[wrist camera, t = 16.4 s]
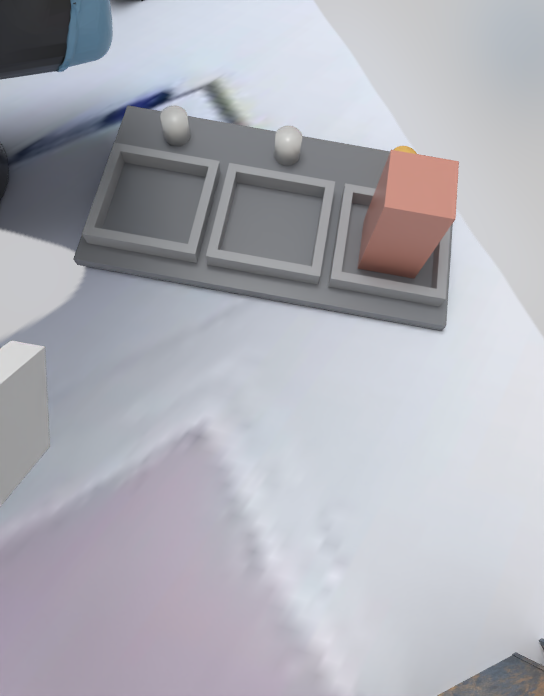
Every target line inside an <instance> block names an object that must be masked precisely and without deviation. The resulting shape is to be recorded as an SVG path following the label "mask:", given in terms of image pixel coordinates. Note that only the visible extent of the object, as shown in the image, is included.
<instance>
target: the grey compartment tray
mask: <svg viewBox="0 0 544 696" xmlns="http://www.w3.org/2000/svg"><path fill="white" fill-rule="evenodd" d="M394 150H396V151H402V152H407V153H413V154H417V153H416V152H415V151H414V150H413V149H412V148H410V147H407V146H399V147H397V148H395V149H394ZM389 154H390V152H389V151H383V150H378V149H372V148H366V147H361V146H355V145H349V144H344V143H338V142H332V141H327V140H321V139H315V138H309V137H304V136H302V134H301V132H300V131H299V130H298V129H297V128H295V127H293V126H284V127H281V128H280V129H278V130H277V132H275V131H270V130H264V129H258V128H253V127H247V126H241V125H236V124H230V123H224V122H218V121H213V120H207V119H201V118H196V117H190V116H187V113H186V111H185V110H184V109H183V108H181V107H179V106H169V107H167V108H165V109H164V110H163V111H156V110H150V109H145V108H139V107H133V106H127V109H126V111H125V114H124V117H123V120H122V123H121V126H120V128H119V131H118V134H117V137H116V140H115V142H114V144H113V147H112V150H111V153H110V156H109V158H108V161H107V164H106V167H105V170H104V173H103V175H102V178H101V181H100V184H99V187H98V190H97V192H96V195H95V198H94V201H93V204H92V207H91V209H90V212H89V215H88V218H87V221H86V224H85V226H84V229H83V232H82V236H81V239H80V242H79V245H78V247H77V250H76V253H75V256H74V260H75V262H76V263H77V265H83V266H88V267H93V268H99V269H104V270H110V271H115V272H121V273H126V274H132V275H137V276H143V277H148V278H154V279H159V280H165V281H171V282H176V283H182V284H187V285H193V286H198V287H204V288H209V289H215V290H220V291H226V292H231V293H237V294H242V295H248V296H253V297H259V298H264V299H270V300H275V301H281V302H287V303H292V304H298V305H303V306H309V307H314V308H320V309H325V310H331V311H336V312H342V313H347V314H353V315H358V316H364V317H369V318H375V319H380V320H386V321H392V322H397V323H403V324H408V325H414V326H419V327H425V328H430V329H436V330H441V331H442V330H443V329H444V328H445V327H446V319H447V303H448V287H449V272H450V256H451V240H452V225H453V223H452V225H451V226H450V228H449V229H448V231H447V232H446V234H445V235H444V236H443V238H442V239H441V241H440V242H439V244H438V245H437V247H436V248H435V249H434V251H433V252H432V254H431V255H430V257H429V258H428V260H427V261H426V262H425V264H424V265H423V267H422V268H421V270H420V271H419V273H418V274H417V276H416V277H415V278H414V279H413V278H407V277H402V276H396V275H391V274H385V273H379V272H374V271H368V270H363V269H357V268H358V260H359V253H360V245H361V238H362V230H363V223H364V218H365V216H366V213H367V211H368V208H369V205H370V203H371V200H372V198H373V195H374V192H375V190H376V187H377V185H378V182H379V180H380V177H381V174H382V172H383V169H384V167H385V164H386V161H387V159H388V156H389Z"/></svg>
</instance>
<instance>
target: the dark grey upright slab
mask: <svg viewBox="0 0 544 696" xmlns="http://www.w3.org/2000/svg"><path fill="white" fill-rule="evenodd" d="M539 642H540V644H541V645H542V647H543V649H544V639H543V638H542V639H540V640H539ZM437 696H544V666H542V665H540V664H538V663H536V662H534V661H532V660H530V659H528V658H526V657H524V656H522V655H520V654H518V653H514V654H512V656H510V657H508V658H507V659H505V660H503V661H501V662H499V663H497V664H495V665H494V666H492V667H490V668H488V669H486V670H484V671H482V672H480V673H479V674H477V675H475V676H473V677H471V678H469V679H467V680H465V681H464V682H462V683H460V684H458V685H456V686H454V687H452V688H450V689H449V690H447V691H445V692H443V693H441V694H439V695H437Z"/></svg>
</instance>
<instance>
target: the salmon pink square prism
mask: <svg viewBox="0 0 544 696" xmlns="http://www.w3.org/2000/svg"><path fill="white" fill-rule="evenodd" d="M458 165H459V162H458V161H453V160H447V159H441V158H436V157H430V156H425V155H419V154H413V153H407V152H402V151H396V150H391V151H390V154H389V156H388V159H387V161H386V164H385V167H384V169H383V172H382V174H381V177H380V180H379V182H378V185H377V187H376V190H375V192H374V195H373V198H372V200H371V203H370V205H369V208H368V211H367V213H366V216H365V218H364V223H363V230H362V238H361V245H360V253H359V260H358V268H357V269H363V270H368V271H374V272H379V273H385V274H391V275H396V276H402V277H407V278H413V279H414V278H415V277H416V276H417V274H418V273H419V271H420V270H421V268H422V267H423V265H424V264H425V262H426V261H427V260H428V258H429V257H430V255H431V254H432V252H433V251H434V249H435V248H436V247H437V245H438V244H439V242H440V241H441V239H442V238H443V236H444V235H445V234H446V232H447V231H448V229H449V228H450V226H451V225H452V223H453V222H454V220H455V216H456V199H457V183H458Z"/></svg>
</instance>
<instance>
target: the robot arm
mask: <svg viewBox="0 0 544 696" xmlns="http://www.w3.org/2000/svg"><path fill="white" fill-rule="evenodd" d="M111 42H112V16H111V6H110V0H0V79H7V78H13V77H20V76H27V75H33V74H40V73H47V72H53V71H57V72H62V71H64V70H66V69H67V68H68V67H71V66H75V65H79V64H83V63H87V62H91V61H95V60H98V59H100V58H102V57H103V56H104V55H105V54H106V53H107V52H108V50H109V48H110V46H111ZM8 174H9V167H8V159H7V156H6V153H5V150H4V148H3V146H2V144H1V143H0V200H1V198H2V196H3V194H4V192H5V189H6V186H7V181H8ZM49 447H50V438H49V417H48V397H47V377H46V357H45V347H44V346H39V345H33V344H28V343H22V342H17V341H12V340H11V341H10V342H8V343H7V344H6V345H4V346H3V347H1V348H0V507H1V506H2V504H3V503H4V502H5V501H6V500H7V498H8V497H9V496H10V495H11V493H12V492H13V491H14V490H15V489H16V487H17V486H18V485H19V484H20V482H21V481H22V480H23V479H24V478H25V476H26V475H27V474H28V473H29V471H30V470H31V469H32V468H33V467H34V465H35V464H36V463H37V462H38V460H39V459H40V458H41V457H42V456H43V454H44V453H45V452H46V451H47V450H48V448H49Z"/></svg>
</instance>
